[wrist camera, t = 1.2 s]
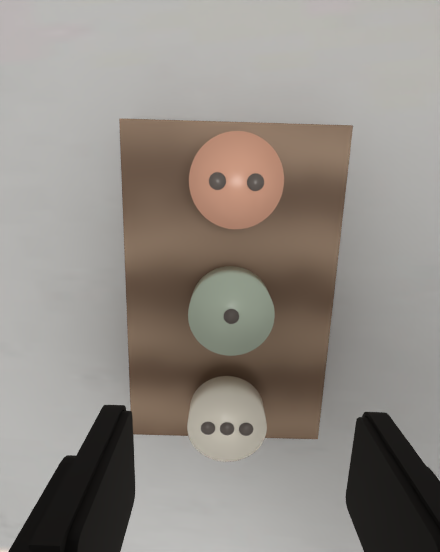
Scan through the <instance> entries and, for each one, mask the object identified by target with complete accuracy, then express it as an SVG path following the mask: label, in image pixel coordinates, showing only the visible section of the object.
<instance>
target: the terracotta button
mask: <svg viewBox="0 0 440 552" xmlns="http://www.w3.org/2000/svg"><path fill="white" fill-rule="evenodd" d="M283 187H284V172H283V167H282V163H281V161H280V158H279V156H278V155H277V153H276V151H275V150H274V149H273V147H272V146H271V145H270V144H269V143H268V142H267V141H265V140H264V139H263V138H261V137H259V136H257V135H255V134H253V133H249V132H245V131H229V132H225V133H222V134H219V135H217V136H215V137H213V138H212V139H210V140H209V141H207V142H206V143H205V144H204V145H203V146H202V147H201V148H200V150H199V151H198V152H197V154H196V155H195V158H194V160H193V162H192V165H191V168H190V173H189V188H190V193H191V196H192V199H193V202H194V204H195V206H196V207H197V209H198V210H199V211H200V213H201V214H202V215H203V216H204V217H205V218H206V219H208V220H209V221H210V222H212V223H214V224H215V225H217V226H220V227H223V228H227V229H245V228H249V227H252V226H254V225H257V224H259V223H260V222H262V221H263V220H265V219H266V218H267V217H268V216H269V215H270V214H271V213H272V212H273V211H274V209H275V208H276V206H277V205H278V203H279V201H280V198H281V196H282V192H283Z"/></svg>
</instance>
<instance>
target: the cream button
mask: <svg viewBox="0 0 440 552" xmlns="http://www.w3.org/2000/svg"><path fill="white" fill-rule="evenodd" d="M187 430H188V436H189V438H190V441H191V443H192V444H193V446H194V447H195V448H196V449H197V450H198V451H199V452H200V453H201V454H203V455H204V456H206V457H208V458H210V459H213V460H217V461H224V462H231V461H237V460H241V459H243V458H246V457H248V456H250V455H251V454H253V453H254V452H255V451H256V450H257V449H258V448H259V447H260V446H261V444H262V443H263V441H264V439H265V436H266V431H267V424H266V418H265V413H264V407H263V402H262V399H261V396H260V394H259V392H258V391H257V390H256V389H255V387H254V386H253V385H251V384H250V383H249V382H247V381H245V380H243V379H241V378H238V377H233V376H221V377H216V378H213V379H210V380H208V381H206V382H205V383H203V384H202V385H201V386H200V387H199V388H198V389H197V390H196V391H195V393H194V395H193V397H192V399H191V403H190V410H189V417H188V425H187Z"/></svg>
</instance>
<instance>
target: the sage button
mask: <svg viewBox="0 0 440 552" xmlns="http://www.w3.org/2000/svg"><path fill="white" fill-rule="evenodd" d="M274 318H275V311H274V305H273V302H272V299H271V297H270V295H269V293H268V290H267V288H266V286H265V285H264V283H263V282H262V280H261V279H260V278H259V277H258V276H257V275H255V274H254V273H252V272H251V271H249V270H247V269H244V268H240V267H234V266H226V267H221V268H217V269H215V270H213V271H211V272H209V273H207V274H206V275H205V276H204V277H203V278H202V279H201V280H200V281H199V282H198V283H197V285H196V287H195V289H194V291H193V294H192V297H191V301H190V305H189V309H188V321H189V326H190V329H191V331H192V333H193V335H194V336H195V338H196V339H197V340H198V342H199V343H200V344H201V345H203V346H204V347H205V348H207V349H208V350H210V351H212V352H214V353H217V354H221V355H227V356H236V355H241V354H245V353H248V352H250V351H252V350H254V349H256V348H257V347H258V346H260V345H261V344H262V343H263V342H264V341H265V340H266V338H267V337H268V336H269V334H270V332H271V330H272V327H273V324H274Z"/></svg>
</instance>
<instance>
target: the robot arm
mask: <svg viewBox="0 0 440 552" xmlns="http://www.w3.org/2000/svg"><path fill="white" fill-rule="evenodd" d="M134 498H135V470H134V443H133V416H132V411H126V407H125V406H124V405H104V406H103V407H102V409H101V411H100V413H99V415H98V417H97V418H96V420H95V422H94V424H93V426H92V428H91V430H90V431H89V433H88V435H87V437H86V439H85V441H84V443H83V444H82V446H81V448H80V450H79V452H78V454H77V456H68V455H67V456H66V457H64V458H63V460H62V461H61V462H60V464H59V466H58V468H57V469H56V471H55V473H54V474H53V476H52V478H51V480H50V481H49V483H48V485H47V486H46V488H45V490H44V492H43V493H42V495H41V497H40V498H39V500H38V502H37V504H36V505H35V507H34V509H33V510H32V512H31V514H30V516H29V517H28V519H27V521H26V522H25V524H24V526H23V528H22V529H21V531H20V533H19V534H18V536H17V538H16V540H15V541H14V543H13V545H12V546H11V548H10V550H9V552H120V551H121V547H122V543H123V540H124V536H125V533H126V529H127V525H128V522H129V518H130V515H131V511H132V507H133V503H134ZM346 504H347V508H348V512H349V514H350V517H351V519H352V522H353V524H354V527H355V529H356V532H357V535H358V537H359V540H360V542H361V545H362V547H363V550H364V552H440V481H439V480H438V478H437V477H436V476H435V474H434V473H433V472H432V471H431V470H430V468H429V467H427V466H426V465H425V464H424V463H423V461H422V460H421V458H420V457H419V456H418V454H417V453H416V452H415V450H414V449H413V447H412V446H411V445H410V443H409V442H408V441H407V439H406V438H405V437H404V435H403V434H402V432H401V431H400V430H399V428H398V427H397V426H396V424H395V423H394V422H393V420H392V419H391V417H390V416H389V415H388V414H387V413H383V412H365V413H364V414H363V416H362V417H359V418H357V421H356V427H355V434H354V441H353V448H352V455H351V462H350V469H349V476H348V483H347V490H346Z"/></svg>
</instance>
